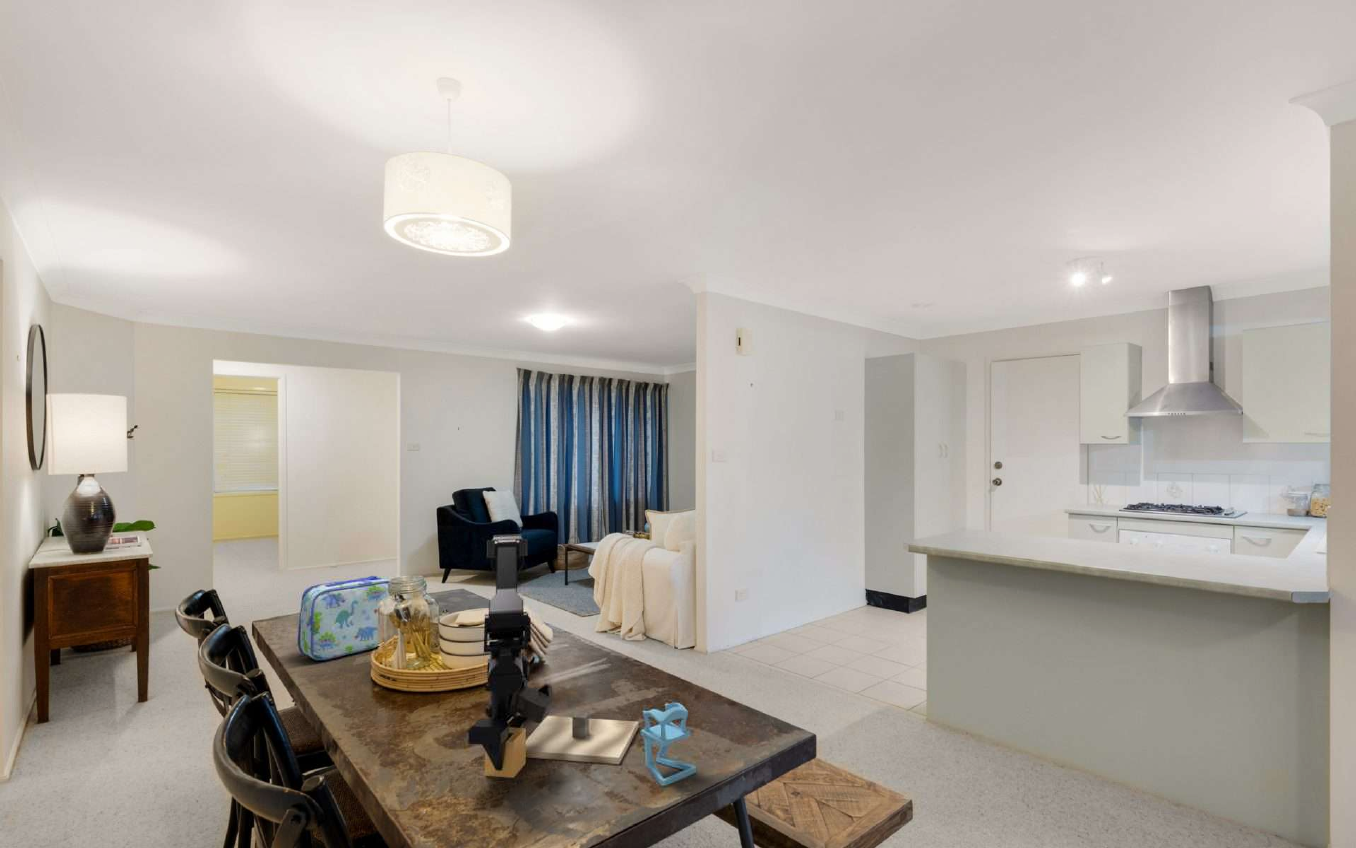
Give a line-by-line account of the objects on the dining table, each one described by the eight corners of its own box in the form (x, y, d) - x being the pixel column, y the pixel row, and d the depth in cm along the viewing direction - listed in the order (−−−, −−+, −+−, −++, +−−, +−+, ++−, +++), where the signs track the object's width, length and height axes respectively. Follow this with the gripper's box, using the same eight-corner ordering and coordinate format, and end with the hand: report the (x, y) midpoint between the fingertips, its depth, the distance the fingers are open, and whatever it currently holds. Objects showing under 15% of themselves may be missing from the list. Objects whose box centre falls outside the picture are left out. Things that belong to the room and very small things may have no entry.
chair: (668, 756, 124) (667, 692, 124) (696, 772, 117) (695, 704, 118) (635, 769, 119) (634, 702, 119) (663, 787, 112) (662, 716, 113)
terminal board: (517, 756, 124) (517, 728, 124) (547, 721, 140) (547, 697, 140) (619, 764, 121) (618, 735, 121) (638, 727, 136) (638, 702, 137)
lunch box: (385, 637, 203) (385, 569, 204) (402, 643, 197) (403, 573, 197) (294, 659, 183) (295, 583, 184) (310, 666, 176) (311, 588, 177)
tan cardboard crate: (485, 775, 117) (485, 739, 117) (498, 761, 122) (498, 726, 122) (513, 778, 116) (513, 741, 116) (525, 763, 121) (525, 728, 121)
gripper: (527, 698, 109) (527, 793, 109) (565, 661, 127) (565, 742, 127) (465, 694, 111) (465, 787, 110) (511, 659, 129) (511, 739, 129)
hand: (505, 762), depth 119 cm, fingers closed on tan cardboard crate, 5 cm apart
